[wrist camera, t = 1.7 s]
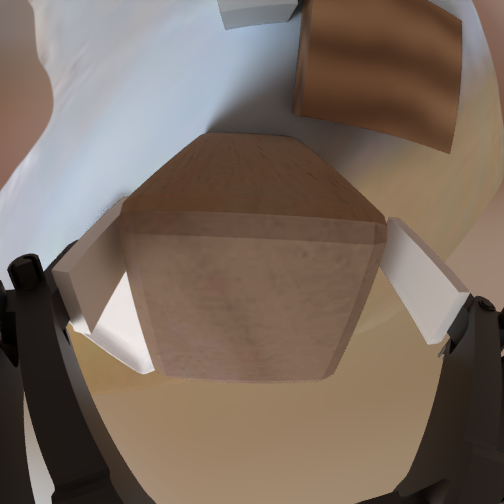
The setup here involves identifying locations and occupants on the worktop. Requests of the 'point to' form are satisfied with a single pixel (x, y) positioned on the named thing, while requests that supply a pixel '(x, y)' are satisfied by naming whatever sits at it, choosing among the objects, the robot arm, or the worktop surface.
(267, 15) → the slate cube
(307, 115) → the plinth
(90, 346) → the worktop surface
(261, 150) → the block
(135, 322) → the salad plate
